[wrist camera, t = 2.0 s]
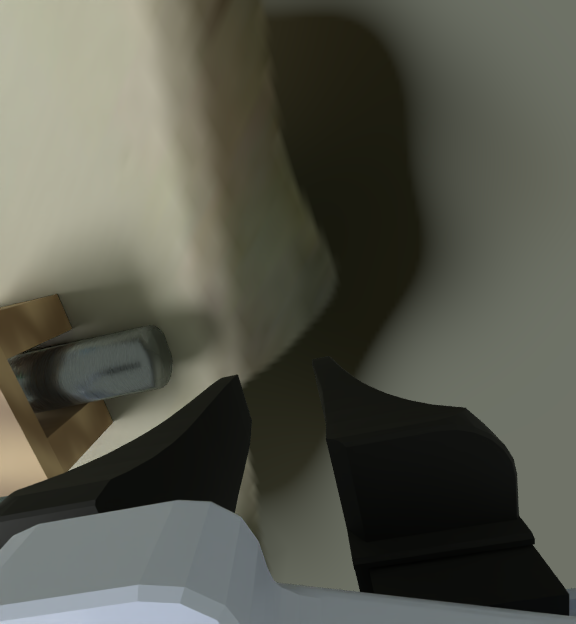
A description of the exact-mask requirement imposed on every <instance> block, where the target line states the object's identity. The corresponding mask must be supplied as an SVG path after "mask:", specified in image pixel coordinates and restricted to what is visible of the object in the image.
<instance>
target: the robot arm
mask: <svg viewBox="0 0 576 624" xmlns="http://www.w3.org/2000/svg"><path fill="white" fill-rule="evenodd" d="M312 365H313V369H314V373H315V378H316V382H317V387H318V391H319V395H320V400H321V404H322V408H323V413H324V417H325V421H326V441H327V445H328V449H329V453H330V458H331V462H332V466H333V470H334V475H335V479H336V483H337V488H338V492H339V497H340V501H341V505H342V509H343V513H344V518H345V522H346V527H347V531H348V537H349V543H350V549H351V555H352V561H353V566H354V570H355V572H356V576H357V580H358V585H359V589H360V592H355V591H347V590H338V589H329V588H321V587H312V586H303V585H294V584H285V583H278V582H276V581H275V580H273V578H272V576H271V574H270V572H269V570H268V567H267V564H266V561H265V558H264V555H263V552H262V549H261V546H260V543H259V541H258V540H257V538H256V537H255V536H254V534H253V533H252V531H251V530H250V529H249V527H248V526H247V524H246V523H245V522H244V520H243V519H242V517H240V516H239V515H237V514H235V509H236V504H237V499H238V494H239V490H240V486H241V482H242V477H243V473H244V469H245V464H246V460H247V455H248V451H249V446H250V438H251V437H250V436H251V423H252V420H251V417H250V414H249V410H248V407H247V403H246V400H245V397H244V394H243V390H242V387H241V383H240V380H239V377H238V375H234V376H229V377H224V378H221V379H219V380H218V381H216V382H215V383H214V384H212V385H211V386H210V387H208V388H207V389H206V390H205V391H203V392H202V393H201V394H200V395H198V396H197V397H196V398H195V399H193V400H192V401H191V402H190V403H188V404H187V405H186V406H184V407H183V408H182V409H180V410H179V411H178V412H176V413H175V414H174V415H172V416H171V417H170V418H168V419H167V420H165V421H164V422H162V423H161V424H159V425H158V426H156V427H155V428H153V429H151V430H150V431H148V432H147V433H145V434H143V435H142V436H140V437H138V438H136V439H135V440H133V441H131V442H129V443H127V444H125V445H123V446H121V447H120V448H118V449H116V450H114V451H112V452H110V453H108V454H106V455H104V456H102V457H100V458H97V459H95V460H93V461H91V462H89V463H86V464H84V465H82V466H79V467H77V468H75V469H72V470H70V471H67V472H65V473H62V474H60V475H57V476H54V477H52V478H49V479H46V480H44V481H41V482H38V483H35V484H33V485H30V486H27V487H24V488H21V489H18V490H16V491H14V492H13V493H11V494H10V495H9V496H7V497H6V498H5V499H4V500H3V501H2V502H1V503H0V624H576V588H571V589H565V588H564V586H563V585H562V584H561V582H560V581H559V580H558V578H557V577H556V575H555V574H554V573H553V572H552V570H551V569H550V567H549V566H548V565H547V564H546V562H545V561H544V559H543V558H542V557H541V555H540V554H539V553H538V551H537V550H536V549H535V547H534V546H533V545H532V544H535V539H534V536H533V534H532V532H531V531H530V529H529V528H528V527H527V525H526V524H525V523H524V521H523V520H522V519H521V518H520V516H519V507H518V486H517V472H516V468H515V463H514V459H513V457H512V456H511V454H510V452H509V451H508V449H507V448H506V446H505V445H504V444H503V443H502V442H501V441H500V440H499V439H498V437H496V435H495V434H494V433H493V432H492V431H491V430H490V429H489V428H488V427H487V426H485V424H484V423H482V422H481V421H480V420H479V419H478V418H477V417H475V416H474V415H473V414H472V413H471V412H470V411H469V410H467V409H466V408H463V407H452V406H441V405H432V404H426V403H421V402H416V401H411V400H407V399H403V398H399V397H396V396H393V395H390V394H387V393H384V392H382V391H379V390H377V389H375V388H372V387H370V386H368V385H366V384H364V383H362V382H361V381H359V380H357V379H356V378H354V377H353V376H352V375H350V374H349V373H348V372H346V371H345V370H344V369H342V368H341V367H340V366H339V365H338V364H337V363H336V362H335V361H334V360H333V359H332V358H331V357H329V356H327V357H322V358H317V359H313V360H312Z"/></svg>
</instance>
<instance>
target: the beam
mask: <svg viewBox="0 0 576 624" xmlns="http://www.w3.org/2000/svg"><path fill="white" fill-rule="evenodd" d="M71 329H72V327H71V325H70V322H69V320H68V318H67V316H66V313H65V311H64V309H63V306H62V304H61V302H60V299H59V297H58V295H57V294H55V295H51V296H47V297H43V298H38V299H34V300H30V301H26V302H21V303H17V304H13V305H9V306H5V307H0V497H4V496H9V495H10V494H11V493H13V492H14V491H16V490H18V489H21V488H24V487H27V486H30V485H33V484H35V483H38V482H41V481H44V480H46V479H49V478H52V477H54V476H57V475H60V474H62V473H65V472H67V471H68V470H69V469H70V468H71V467H72V466H73V465H74V464H75V463H76V462H77V461H78V459H79V458H80V457H81V456H82V455H83V454H84V453H85V452H86V451H87V450H88V449H89V448H90V446H91V445H92V444H93V443H94V442H95V441H96V440H97V439H98V438H99V437H100V436H101V435H102V434H103V432H104V431H105V430H106V429H107V428H108V427H109V426H110V425H111V424H112V423H113V421H112V419H111V416H110V414H109V412H108V410H107V407H106V405H105V403H104V400H99V401H94V402H89V403H84V404H79V405H74V406H69V407H64V408H59V409H54V410H50V411H45V412H40V413H35V414H34V412H33V410H32V408H31V406H30V404H29V402H28V400H27V398H26V396H25V394H24V392H23V390H22V388H21V386H20V384H19V382H18V380H17V378H16V376H15V374H14V372H13V370H12V368H11V366H10V364H9V362H8V360H7V359H9V358H11V357H13V356H15V355H17V354H19V353H22V352H24V351H26V350H28V349H30V348H32V347H35V346H37V345H39V344H41V343H43V342H45V341H47V340H50V339H52V338H54V337H56V336H58V335H60V334H63V333H65V332H67V331H69V330H71Z"/></svg>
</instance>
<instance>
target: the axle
mask: <svg viewBox="0 0 576 624" xmlns="http://www.w3.org/2000/svg"><path fill="white" fill-rule="evenodd" d="M7 360H8V362H9V364H10V366H11V368H12V370H13V372H14V374H15V376H16V378H17V380H18V382H19V384H20V386H21V388H22V390H23V392H24V394H25V396H26V398H27V400H28V402H29V404H30V406H31V408H32V410H33V412H34V414H35V413H40V412H45V411H50V410H54V409H59V408H64V407H69V406H74V405H79V404H84V403H89V402H94V401H99V400H104V399H109V398H114V397H119V396H124V395H128V394H133V393H138V392H143V391H148V390H153V389H158V388H162V387H164V386H165V385H166V384H167V383H168V381H169V379H170V377H171V373H172V356H171V353H170V350H169V347H168V344H167V342H166V339H165V336H164V334H163V333H162V331H161V330H160V329H159V328H157V327H156V326H152V325H150V326H145V327H140V328H136V329H131V330H127V331H122V332H118V333H113V334H109V335H104V336H99V337H95V338H90V339H86V340H81V341H77V342H72V343H68V344H63V345H59V346H54V347H50V348H45V349H41V350H36V351H32V352H27V353H22V354H18V355H15V356H13V357H11V358H9V359H7Z"/></svg>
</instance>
